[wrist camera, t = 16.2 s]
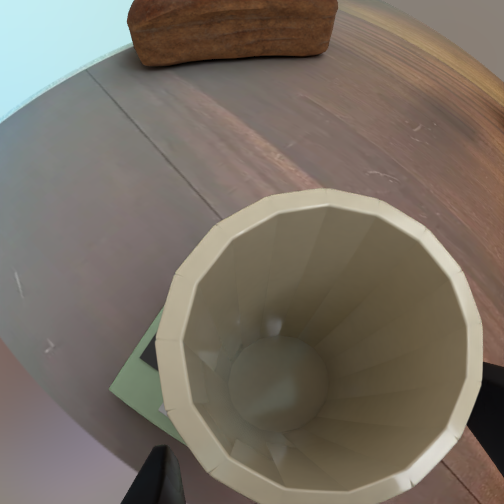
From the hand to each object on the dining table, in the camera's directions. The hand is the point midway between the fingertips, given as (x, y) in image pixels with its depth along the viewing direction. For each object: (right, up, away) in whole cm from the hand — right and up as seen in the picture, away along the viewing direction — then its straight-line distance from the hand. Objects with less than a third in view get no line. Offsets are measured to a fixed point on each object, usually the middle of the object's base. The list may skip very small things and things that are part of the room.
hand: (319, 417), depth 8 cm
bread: (-5, +35, +31) cm, 47 cm away
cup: (-1, -3, +9) cm, 9 cm away
